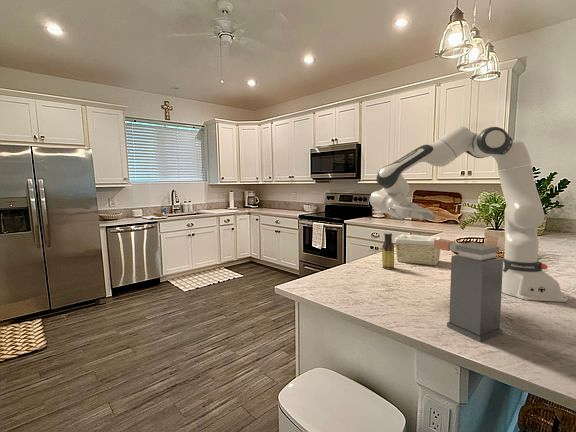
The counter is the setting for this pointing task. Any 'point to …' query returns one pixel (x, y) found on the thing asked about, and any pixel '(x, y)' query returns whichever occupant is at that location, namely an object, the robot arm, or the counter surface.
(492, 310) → the sleeve
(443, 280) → the counter surface
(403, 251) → the storage basket
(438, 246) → the layered grey-topped block
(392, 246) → the sauce bottle
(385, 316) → the counter surface
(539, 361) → the counter surface
